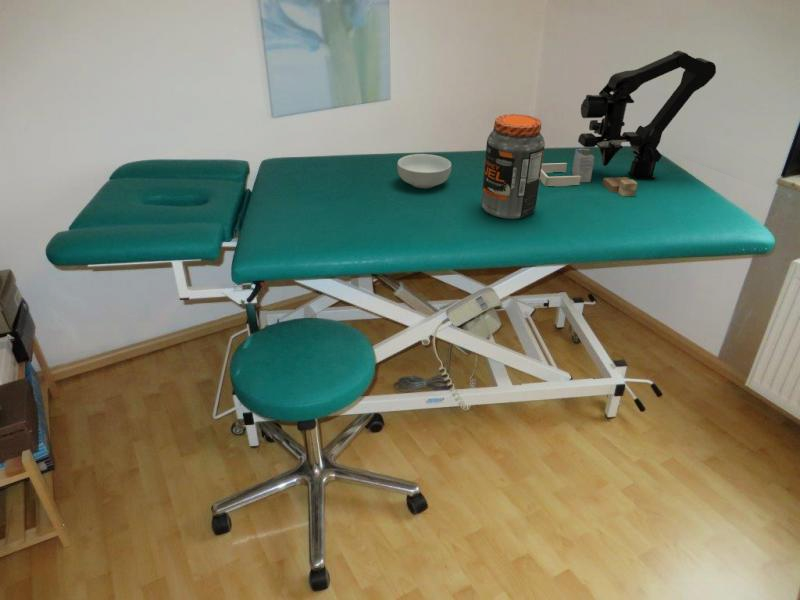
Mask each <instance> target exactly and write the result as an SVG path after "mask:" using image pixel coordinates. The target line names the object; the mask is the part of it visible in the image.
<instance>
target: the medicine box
mask: <svg viewBox="0 0 800 600" xmlns="http://www.w3.org/2000/svg"><path fill="white" fill-rule="evenodd" d="M594 164H595V156H594V154H593V153H592V151H591V150H590V149H589V148H576V149H575V151H574V158H573V162H572V170H571V176H581V178H580V183H591V180H592V174H593V170H594Z"/></svg>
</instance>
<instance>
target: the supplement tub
mask: <svg viewBox="0 0 800 600" xmlns="http://www.w3.org/2000/svg"><path fill="white" fill-rule="evenodd" d="M541 130H542V120H541V119H539V118H537V117H536V116H532V115H527V114H520V113H510V114H502V115H499V116H497V117H496V118H495V119H494V124H493V130H492V131H491V132H490V133H489V135H488V136H487V139H486V145H485V146H486V148H485V157H484V167H483V169H484V170H483V178H482V179H483V180H482V188H481V190H482V191H481V192H482V193H481V207H482V209H483V210H484V211H485V212H486V213H488V214H490V215H492V216H495V217H499V218H503V219H512V220H513V219H522V218H525V217H527V216H529V215H530V214H533V212H534V211H535V209H536V207H537V201H538V194H539V188H540V187H539V186H540V182H541V181H540V174H541V167H542V164H543V158H544V151H545V144H546V143H545V139H544V137H543V135H542V133H541Z"/></svg>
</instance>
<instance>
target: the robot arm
mask: <svg viewBox="0 0 800 600" xmlns="http://www.w3.org/2000/svg"><path fill="white" fill-rule="evenodd" d="M680 68H681V69H682V70H684V71H683V72H682V77H681V80H680V83H679V85H678V87H676V88H675V89H674V91H673V92H672V94H671V95H670V97H669V98H668V99H667V100H666V102H665V103H664V105H662V107H661V108H660V110H659V111H658V112H657V114H656V115H655V116H654V117H653V118H652V120H651V121H650V122H649V123H648V124H647V125H645V126H642V125H639V126H638V127H637V129H636V131H626V132H625V131H624V132H623V133H622V128H623V127H624V126H625V123H626V122H624V118H625V114H626V110H627V105H628V104H634V103H635V100H634V99H633V98H632V96H631V94H632V93H634V92H635V91H637V90H638V89H639V88H640V87H641V86H642V85H644V84H645V83H647V82H650V81H652V80H654V79H657V78H658V77H661V76H664V75H666V74H668V73H671V72H672V71H674V70H677V69H680ZM716 73H717V68H716V64H715V63H714V62H712V61H710V60H707V59H704V58H702V57H696V58H695V57H693V56H691V55H689V54H688V53H686V52H684V51H681V50H676V51H674V52H672V53H670V54H668V55H666V56H664V57H662V58H660V59H657V60H655V61H653V62H650V63H649V64H645V65H644V66H642V67H639V68H636V69H634V70H633V69H631V70H623V71H620V72H617V73H614V74H612V75H611V76H610V77H609V80H608V82H607V83H606V84H605V86H604V87H603V88H602V89H601V90H600V92H599V93H598V94H595V95H594V94H587V95H585V99H583V101H582V103H581V106H580V114H581V118H582V119H591V120H589V124H588V129H589V131H593V133H591V132H589V133H588V132H587V133H585V132H584V133H581V134H580V135H579V136H578V140H577V142H578V143H579V144H580V145H581V146H582V147H584V148H595V147H598V148H599V152H600V155H601V162H602V165H603V167H606V166H608V164H609V163H610V162H611V160H612V159H613V158H614V156H615V155H616V154H617V153H618V152H619V151H620V150H621V149H623V148H624V147H623V145H622V143H625V142H626V143H629V146H630V148H631V149H632V153H633V155H635V156H634V158H633V160H632V161H631V164H630V168H629V169H630V170H628V173H629V175H631V176H632V177H633V178H634V179H636V180H650V179H654V180H655V179H656V176H654V171H655V168H656V164H657V163H658V162H660V160H661V158H662V154H661V153H660V151H659V149H657V148H658V146H659V145H660V142H661V139H662V135H663V132H664V131H665V130H666V128H668V126H669V124H670V123H671V122H672V121H673V119H674V118H675V117H676V116H677V115H678V113H679V112H680V110H681V109H682V108H683V107H684V105H686V103H687V102H688V100H689V99H690V98H691V97H692V95H693V94H694V93H695V92H696V91H699V90H700V89H701V88H704V87H705V86H706V85H707V84H708V83H709V82H710V81H711V80H712V79H713V78H714V77H715V75H716ZM597 119H601V122H598V120H597ZM621 133H622V134H621ZM594 134H597V135H598V136H596V135H594Z"/></svg>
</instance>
